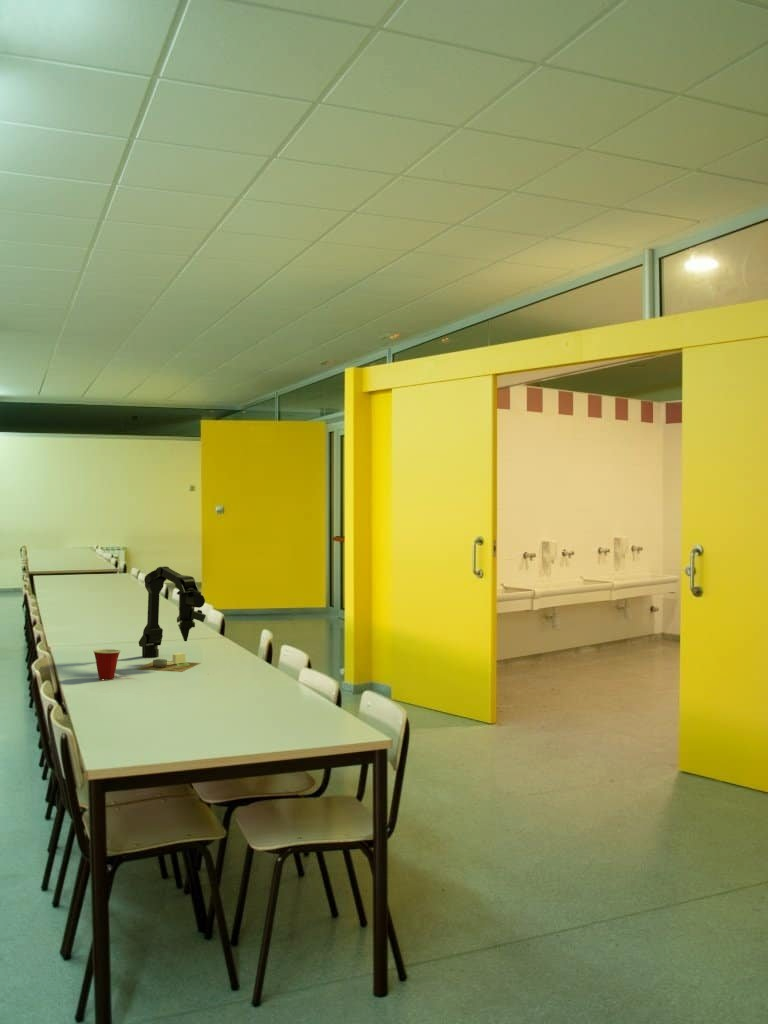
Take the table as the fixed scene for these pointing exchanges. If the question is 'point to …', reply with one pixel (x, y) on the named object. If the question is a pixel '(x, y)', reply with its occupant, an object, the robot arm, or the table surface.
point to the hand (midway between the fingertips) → (185, 641)
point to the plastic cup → (106, 662)
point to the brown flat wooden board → (169, 667)
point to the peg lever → (176, 660)
